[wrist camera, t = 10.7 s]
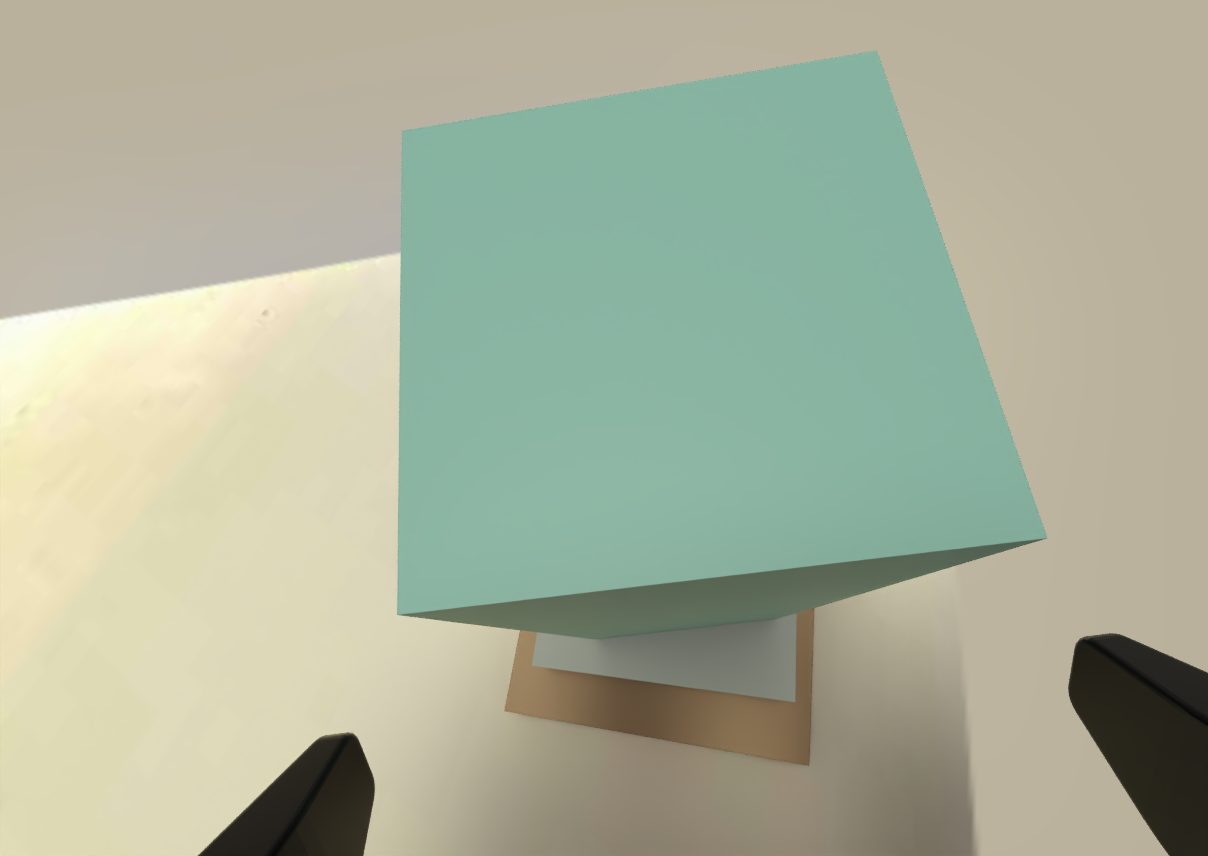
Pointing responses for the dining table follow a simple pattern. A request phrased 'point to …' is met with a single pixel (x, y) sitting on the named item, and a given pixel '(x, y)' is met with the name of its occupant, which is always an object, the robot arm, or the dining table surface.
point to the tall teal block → (687, 362)
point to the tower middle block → (688, 657)
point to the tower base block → (672, 705)
